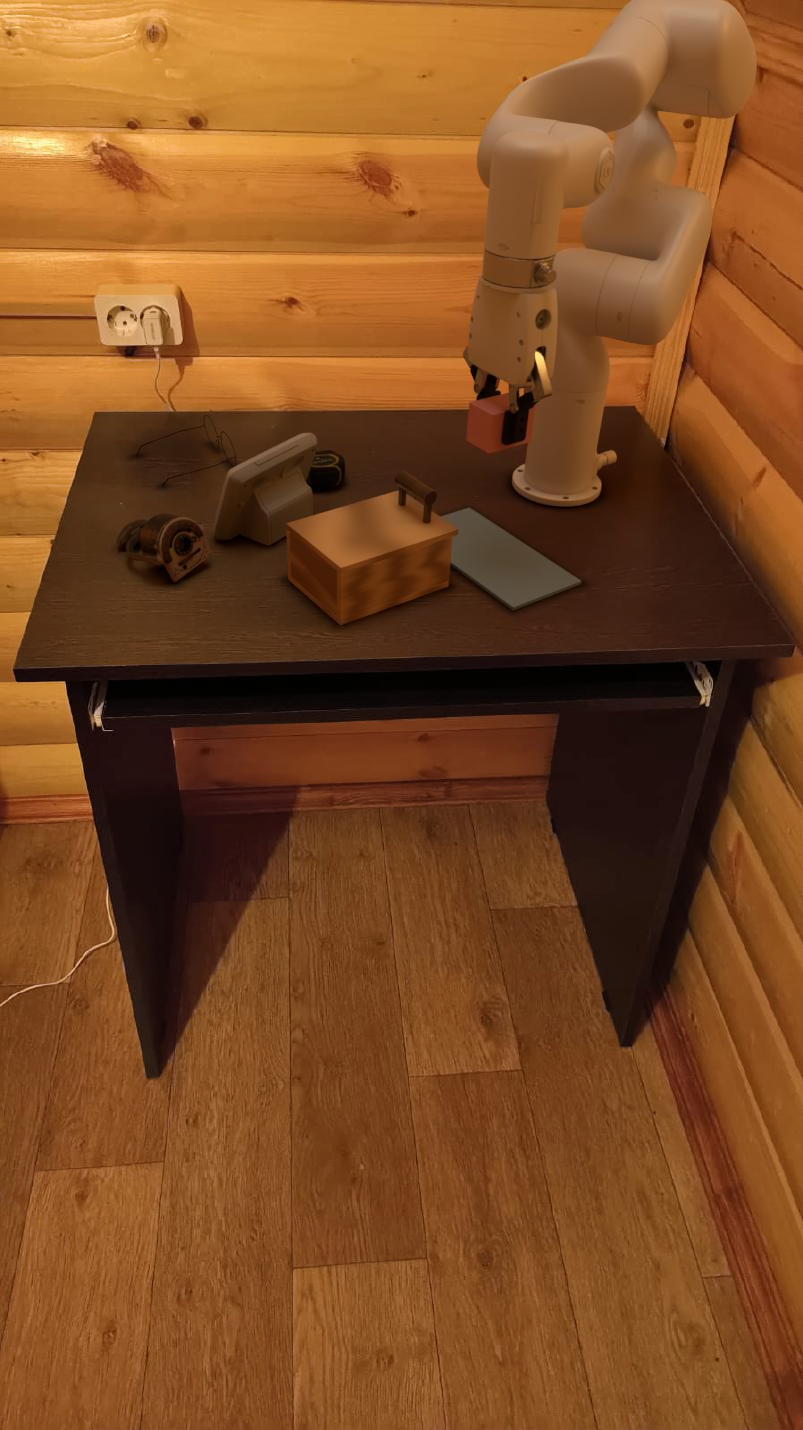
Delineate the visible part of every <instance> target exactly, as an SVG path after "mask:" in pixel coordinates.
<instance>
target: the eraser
mask: <svg viewBox="0 0 803 1430" xmlns="http://www.w3.org/2000/svg"><path fill="white" fill-rule="evenodd" d="M521 396H522V395H519V398H520V397H521ZM535 407H536V404H535V405H534V407H533V408H532V409H529V415H528V423H527V431H526V438H525V440H524V441H521V442H517V443H514V444H510V445H504V444H502V433H503V424H504V415H505V411H506V410H510V409H509V392H505V393H501V395H497V396H493V397H489V398H485V399H480V400H476V399H475V400H472V401H469V404H468V415H467V426H466V436H465V441H466V442H468V443H469V444H471V445H473V446H475V447H476V448H479V449H480V450H482V451H484V452H485V453H486V454H493V453H496V452H500V451H504V450H507V449H510V448H514V447H518V446H521V445H525V444H528V443H529V442H531V437H532V429H533V422H534V414H535Z"/></svg>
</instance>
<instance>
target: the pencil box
mask: <svg viewBox="0 0 803 1430" xmlns="http://www.w3.org/2000/svg"><path fill="white" fill-rule="evenodd" d="M286 532H287V535H286V560H287V561H286V563H287V580H288V582H290V583H291V584H293V586H295V587H296V588H297V589H298V590H299V591H300V592H302V594H304V595H305V596H306V597H307V598H309V599H310V601H312V602H313V603H314V604H315V605H316V606H318V608H319V609H321V610H322V612H324V613H325V614H327V616H329V617H330V618H331V619H332V620H333V621H335V623H337V625H339V626H343V625H346V624H348V623H351V622H354V621H357V620H361V619H363V618H365V617H368V616H371V615H374V614H376V613H379V612H382V611H385V610H387V609H391V608H393V607H397V606H399V605H402V604H404V603H407V602H409V601H412V600H416V599H418V598H421V597H423V596H427V595H429V594H432V593H435V592H437V591H440V590H443V589H446V588H449V584H450V575H451V565H450V563H451V551H452V539H453V537H450V538H447V539H444V540H441V541H438V542H435V543H432V544H429V545H426V546H423V547H420V548H417V549H414V550H411V551H408V552H405V553H402V554H399V555H396V556H393V557H390V558H387V559H384V560H381V561H378V562H375V563H372V564H369V565H366V566H363V567H360V568H357V569H354V570H351V571H348V572H345V573H341V574H340V573H339V572H338V571H337V570H336V569H334V568H333V567H332V566H331V565H329V564H328V563H327V562H326V561H325V560H323V559H322V558H321V557H320V556H318V555H317V554H316V553H315V552H314V551H312V550H311V549H310V548H309V547H308V546H306V545H305V544H304V543H303V542H301V541H300V540H299V539H298V538H297V537H295V536H294V535H293V534H292V533H291V532H289V531H288V530H286Z"/></svg>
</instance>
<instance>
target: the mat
mask: <svg viewBox="0 0 803 1430" xmlns="http://www.w3.org/2000/svg"><path fill="white" fill-rule="evenodd" d="M440 517H441V518H443V519H444V520H446V521H447V522H449V523H450V524H452V525H453V526H455V527H456V528H457V529H458V535H456V536H453V539H452V551H451V563H450V567H452V568H453V569H454V570H456V571H458V573H460V574H461V575H463V576H464V577H466V578H467V579H468V580H470V581H471V582H472V583H474V584H475V585H476V586H478V587H479V588H481V589H482V590H483V591H484V592H487V593H488V594H489V595H490V596H491V597H493V598H494V599H496V600H497V601H499V602H500V603H501V604H503V605H504V606H506V607H507V608H509V610H511V611H512V612H513V611H516V610H519V609H521V608H524V607H526V606H529V605H531V604H534V603H537V602H539V601H542V600H544V599H547V598H550V597H552V596H554V595H557V594H560V593H562V592H565V591H567V590H571V589H572V588H575V587H577V586H580V585H582V580H581V579H579V578H578V577H576V576H575V575H574V574H571V573H570V572H569V571H567V570H566V569H564V568H563V567H561V566H560V565H558V564H556V563H555V562H554V561H552V560H551V559H549V558H548V557H546V556H544V555H543V554H541V553H540V552H538V551H536V550H535V549H533V548H532V547H531V546H529V545H527V544H526V543H524V542H523V541H521V540H520V539H518V538H517V537H515V536H514V535H512V534H510V532H508V531H506V530H505V529H503V528H501V527H500V526H498V525H497V524H496V523H494V522H493V521H491V520H489V519H488V518H486V517H485V516H484V515H482V514H480V513H479V512H477V511H476V510H475V509H472V508H471V507H467V508H463V509H459V510H457V511H453V512H450V513H448V514H443V515H441V516H440Z"/></svg>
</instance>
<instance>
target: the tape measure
mask: <svg viewBox="0 0 803 1430" xmlns="http://www.w3.org/2000/svg"><path fill="white" fill-rule="evenodd" d="M345 477H346V462H345V458H344V457H343V456H342V455H341V454H339V453H337V452H336V451H334V450H331V449H325V450H324V449H323V450H316V453H315V456H314V459H313V462H312V465H311V468H310V471H309V474H308V477H307V480H306V483H307V485H308V486H309V487H310V488H314V489H328V488H333V487H337V486H339V485H341V483H343V482H344V480H345V479H346V478H345Z"/></svg>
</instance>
